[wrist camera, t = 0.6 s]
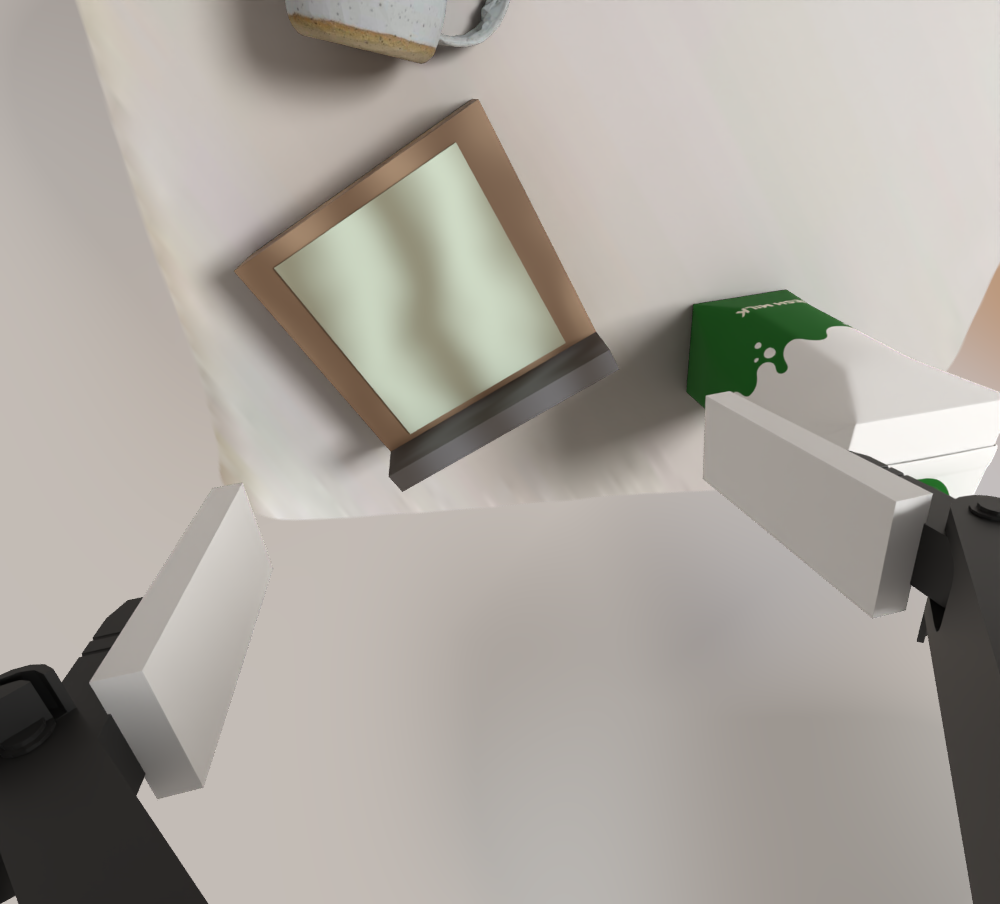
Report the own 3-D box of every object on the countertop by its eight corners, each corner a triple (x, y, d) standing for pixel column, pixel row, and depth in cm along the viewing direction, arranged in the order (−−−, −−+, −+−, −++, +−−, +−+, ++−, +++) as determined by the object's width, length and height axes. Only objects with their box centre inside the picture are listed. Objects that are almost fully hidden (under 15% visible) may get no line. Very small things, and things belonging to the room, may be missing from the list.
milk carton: (673, 403, 44) (831, 593, 27) (681, 291, 39) (880, 438, 22) (780, 386, 44) (1001, 562, 27) (801, 272, 39) (1087, 402, 22)
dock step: (472, 99, 31) (484, 99, 25) (589, 328, 39) (619, 369, 33) (252, 254, 34) (217, 286, 28) (404, 437, 42) (402, 491, 36)
